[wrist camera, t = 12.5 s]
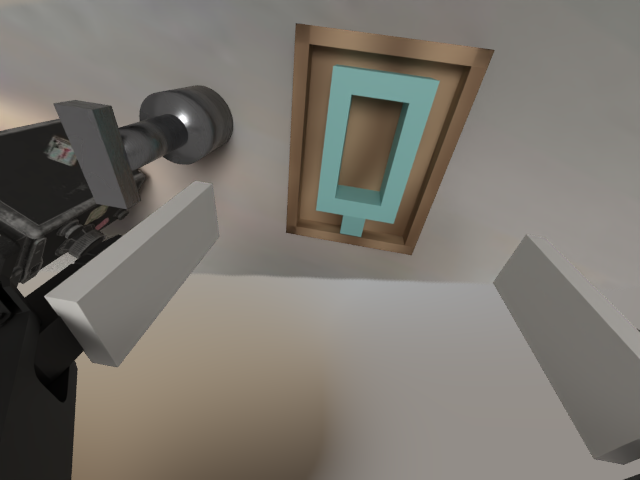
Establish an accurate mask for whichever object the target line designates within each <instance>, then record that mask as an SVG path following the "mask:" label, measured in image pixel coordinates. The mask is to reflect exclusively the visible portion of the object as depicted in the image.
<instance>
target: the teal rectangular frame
mask: <svg viewBox="0 0 640 480" xmlns="http://www.w3.org/2000/svg"><path fill="white" fill-rule="evenodd" d="M439 82H440V81H439V80H436V79H433V78H430V77H423V76H416V75H409V74H402V73H395V72H388V71H381V70H374V69H367V68H360V67H353V66H346V65H339V64H337V65H334V66H333V72H332V80H331V89H330V97H329V105H328V114H327V122H326V131H325V139H324V148H323V156H322V164H321V173H320V181H319V190H318V198H317V207H316V210H317V211H322V212H328V213H334V214H340V215H343V217H342V224H341V230H340V234H346V235H352V236H357V237H361V235H362V231H363V227H364V223H365V219H368V220H374V221H380V222H386V223H391V224H394V221H395V218H396V214H397V211H398V208H399V205H400V202H401V199H402V196H403V193H404V190H405V187H406V184H407V181H408V178H409V174H410V171H411V168H412V165H413V162H414V159H415V156H416V153H417V150H418V147H419V144H420V141H421V138H422V134H423V131H424V128H425V125H426V122H427V119H428V116H429V113H430V110H431V107H432V104H433V101H434V97H435V94H436V91H437V88H438V85H439ZM353 95H358V96H364V97H371V98H378V99H385V100H392V101H398V102H403V105H402V109H401V113H400V117H399V120H398V124H397V128H396V132H395V135H394V139H393V143H392V147H391V151H390V154H389V158H388V162H387V166H386V169H385V173H384V177H383V181H382V184H381V188H380V191H374V190H368V189H362V188H356V187H350V186H344V185H338V182H339V176H340V169H341V163H342V157H343V151H344V145H345V139H346V133H347V127H348V120H349V114H350V108H351V102H352V96H353Z"/></svg>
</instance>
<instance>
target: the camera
mask: <svg viewBox="0 0 640 480" xmlns="http://www.w3.org/2000/svg"><path fill="white" fill-rule="evenodd" d="M132 173H133V176H134V179H135V182H136V186H137V189H138V190H139V189H140V187H141V185H142V184H143V182H144V180H145V175H144V174H143V173H142V172H141V171H140V170H137V169H136V170H134V171H132ZM128 213H129V212H128V211H127V209H123V208H117V207H112V206H106V205H101V204H96V202H95V200H94V197H93V195H92V193H91V190H90V188H89V186H88V183H87V181H86V179H85V176H84V174H83V172H82V169H81V167H80V165H79V162H78V160H77V158H76V155H75V153H74V151H73V148H72V146H71V144H70V141H69V139H68V137H67V134H66V132H65V130H64V127H63V125H62V123H61V120H60V119H56V120H51V121H46V122H41V123H37V124H32V125H27V126H22V127H17V128H13V129H8V130H3V131H0V275H4V276H6V277H7V278H9V279H10V280H11V281H12V283H13V284H14V285H15V286H16V288H17V285H18V283H20V282H21V283H22V284H24V283H25V282H27V281H28V280H30V279H31V278H33V277H34V276H36V275H37V273H38V272H39V270H41V269H42V268H44V267H45V266H47V265H48V264H50V263H51V262H53V261H54V260H56V259H57V258H59V257H60V256H62V255H63V254H65V253H67V252H69V254H71V255H72V256H74V257H76V258H77V259H79V258H80V257H81V256H83V255H86V254H87V252H88V251H90V250H91V249H93V248H94V247H95V246H97V245H98V244H99V243H101V242H103V240H104V239H105V237H106V235H104V234H103V233H101V232H100V230H101V229H103V228H104V227H106V226H107V225H109V224H110V223H112V222H113V221H115V220H116V219H119V220H121V219H123V218H124V217H125V216H126V215H127V214H128Z"/></svg>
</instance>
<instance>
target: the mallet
mask: <svg viewBox="0 0 640 480" xmlns="http://www.w3.org/2000/svg"><path fill="white" fill-rule="evenodd" d="M54 106H55V109H56V111H57V113H58V116H59V118H60V120H61V123H62V125H63V127H64V130H65V132H66V134H67V137H68V139H69V141H70V144H71V146H72V148H73V151H74V153H75V155H76V158H77V160H78V162H79V165H80V167H81V169H82V172H83V174H84V176H85V179H86V181H87V183H88V186H89V188H90V190H91V193H92V195H93V197H94V200H95V202H96V204H101V205H106V206H112V207H117V208H123V209H129V208H130V207H132V206H133V205H135V204H136V203H138V202H139V201H141V198H140V195H139V192H138V189H137V186H136V182H135V179H134V176H133V173H132V171H134V170H136V169H138V168H140V167H142V166H144V165H146V164H148V163H150V162H152V161H154V160H156V159H158V158H160V157H162V156H163V157H164V158H166V159H167V160H169V161H171V162H174V163H177V164H191V163H194V162H196V161H198V160H199V159H201V158H202V157H204V156H206V155H207V154H209V153H210V152H212V151H214V150H215V149H217V148H218V147H220V146H222V145H223V144H225V143H226V142H227V141H228V140H229V138H230V137H231V134H232V131H233V119H232V115H231V112H230V109H229V107H228V105H227V104H226V102H225V101H224V100H223V98H222V97H221V96H220V95H219V94H218V93H216V92H215V91H213V90H212V89H210V88H208V87H205V86H198V85H197V86H190V87H185V88H179V89H174V90H168V91H163V92H157V93H153V94H151V95H149V96H148V97H147V98H146V99H145V100H144V101H143V103H142V105H141V108H140V116H139V117H140V122H137V123H133V124H130V125H127V126H123V127H120V128H118V125H117V122H116V119H115V116H114V112H113V109H112V106H109V105H103V104H97V103H90V102H84V101H78V100H73V101H67V102H60V103H54Z"/></svg>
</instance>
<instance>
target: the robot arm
mask: <svg viewBox="0 0 640 480" xmlns="http://www.w3.org/2000/svg"><path fill="white" fill-rule="evenodd" d="M218 238H219V228H218V221H217V213H216V206H215V198H214V191H213V184H212V183H206V182H200V181H194V182H193V183H191V184H190V185H189V186H188V187H186V188H185V189H184V190H182V191H181V192H180V193H178V194H177V195H176V196H174V197H173V198H172V199H171V200H169V201H168V202H167V203H165V204H164V205H163V206H161V207H160V208H159V209H157V210H156V211H155V212H154V213H152V214H151V215H150V216H148V217H147V218H146V219H144V220H143V221H142V222H141V223H139V224H138V225H137V226H135V227H134V228H133V229H131V230H130V231H129V232H127V233H126V234H125V235H124V236H122V235H117V236H115V237H112V238H110V239H108V240H106V241H103V242H101V243H99V244H98V245H97V246H95V247H94V248H93V249H91V250H90V251H88V252H87V254H86V255H83V256H81V257H80V258H79V259H77V260H76V261H75V263H74V264H70V265H69V266H68V267H66V268H65V269H64V270H62V271H61V272H59V273H58V274H57V275H55V276H54V277H53V278H51V279H50V280H48V281H47V282H46V283H44V284H43V285H41V286H40V287H39V288H37V289H36V290H35V291H34V292H32V293H31V294H29V295H28V296H27V297H25V298H24V296H23V295H22V294H21V293H20V291H19V290H18V289H17V288H16V286H15V285H14V284H13V283H12V281H11V280H10V279H9V278H7V277H6V276H4V275H0V480H71V474H72V456H73V437H74V421H75V420H74V419H75V402H76V385H77V366H76V362H75V361H74V360H75V359H76V358H77V357H78V356H79V355H80V354H81V353H82V352H83V351H84V352H85V354H86V355H87V356H88V358H89V359H90V360H91V362H93V363H98V364H103V365H108V366H113V367H118V366H119V365H120V364H121V363H122V361H123V360H124V359H125V357H126V356H127V355H128V354H129V352H130V351H131V350H132V348H133V347H134V346H135V344H136V343H137V342H138V341H139V339H140V338H141V337H142V335H143V334H144V333H145V332H146V330H147V329H148V328H149V326H150V325H151V324H152V323H153V321H154V320H155V319H156V317H157V316H158V315H159V313H160V312H161V311H162V310H163V308H164V307H165V306H166V305H167V303H168V302H169V301H170V299H171V298H172V297H173V296H174V294H175V293H176V292H177V290H178V289H179V288H180V287H181V285H182V284H183V283H184V281H185V280H186V279H187V278H188V276H189V275H190V274H191V272H192V271H193V270H194V269H195V267H196V266H197V265H198V263H199V262H200V261H201V260H202V258H203V257H204V256H205V254H206V253H207V252H208V251H209V249H210V248H211V247H212V245H213V244H214V243H215V242H216V240H217V239H218ZM493 284H494V285H495V287H496V289H497V290H498V292H499V294H500V296H501V298H502V299H503V301H504V303H505V305H506V306H507V308H508V309H509V311H510V313H511V315H512V317H513V318H514V320H515V322H516V324H517V326H518V327H519V329H520V331H521V332H522V334H523V336H524V338H525V339H526V341H527V343H528V345H529V346H530V348H531V350H532V352H533V353H534V355H535V357H536V359H537V360H538V362H539V364H540V366H541V367H542V369H543V371H544V373H545V374H546V376H547V378H548V380H549V381H550V383H551V385H552V387H553V388H554V390H555V392H556V394H557V395H558V397H559V399H560V401H561V402H562V404H563V406H564V408H565V409H566V411H567V413H568V415H569V416H570V418H571V420H572V422H573V423H574V425H575V427H576V429H577V430H578V432H579V434H580V436H581V437H582V439H583V441H584V442H585V444H586V446H587V448H588V450H589V451H590V453H591V455H592V457H593V458H594V459H597V460H602V461H607V462H612V463H618V464H623V465H624V464H627V463H629V462H632V461H634V460H637V459H639V458H640V330H638V329H637V328H635V327H634V326H633V325H632V324H631V323H630V322H629V321H628V320H627V318H626V317H625V316H623V314H621V312H619V310H617V308H615V306H613V304H611V302H609V300H608V299H606V297H604V296H603V294H602V293H601V292H600V291H599V290H598V289H597V288H596V287H595V286H594V285H593V284H592V283H591V282H590V281H589V280H588V279H587V278H586V277H585V276H584V275H583V274H582V273H581V272H580V271H579V270H578V269H577V268H576V267H575V266H574V265H573V264H572V263H571V262H570V261H569V260H568V259H567V258H566V257H565V256H564V255H563V254H562V253H561V252H560V251H559V250H558V249H557V248H556V247H555V246H554V245H553V244H552V243H551V242H550V241H549V240H548V239H547V238H546V237H540V236H534V235H528V234H526V235H525V237H524V238H523V240H522V241H521V243H520V244H519V246H518V247H517V249H516V250H515V251H514V253H513V254H512V256H511V257H510V259H509V260H508V262H507V263H506V264H505V266H504V267H503V269H502V270H501V272H500V273H499V275H498V276H497V278H496V279H495V280H494V282H493ZM625 480H640V474H638V475H635V476H633V477H630V478H627V479H625Z"/></svg>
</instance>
